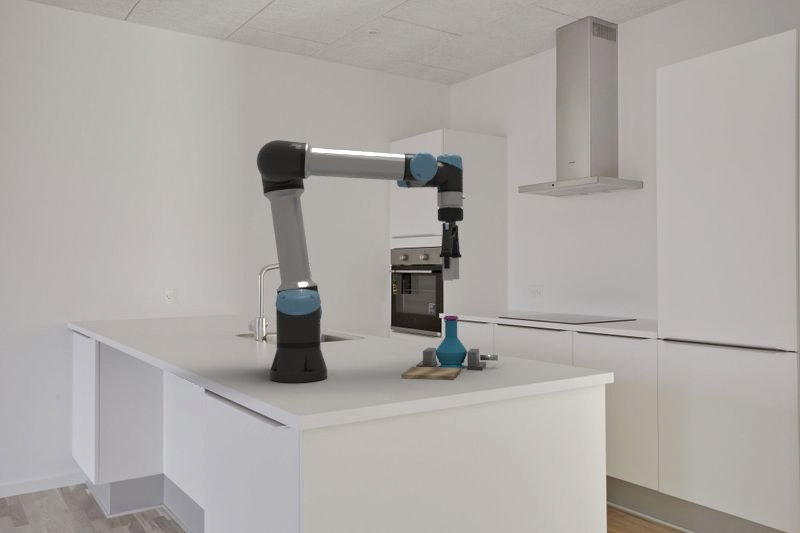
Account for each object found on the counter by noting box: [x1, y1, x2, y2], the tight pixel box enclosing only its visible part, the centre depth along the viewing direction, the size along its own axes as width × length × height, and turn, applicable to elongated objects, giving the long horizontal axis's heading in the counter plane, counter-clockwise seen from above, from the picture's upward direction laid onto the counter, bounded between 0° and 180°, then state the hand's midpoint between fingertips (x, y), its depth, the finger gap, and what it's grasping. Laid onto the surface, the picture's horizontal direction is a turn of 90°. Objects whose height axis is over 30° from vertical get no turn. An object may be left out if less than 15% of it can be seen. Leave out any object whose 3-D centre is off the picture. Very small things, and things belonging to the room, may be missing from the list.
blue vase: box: [436, 315, 468, 369], centre depth 197 cm, size 9×9×15 cm
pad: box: [401, 366, 462, 381], centre depth 183 cm, size 14×14×1 cm
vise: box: [415, 347, 499, 371], centre depth 196 cm, size 23×10×5 cm, turn 77°
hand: (451, 280), depth 197 cm, fingers open, 13 cm apart
